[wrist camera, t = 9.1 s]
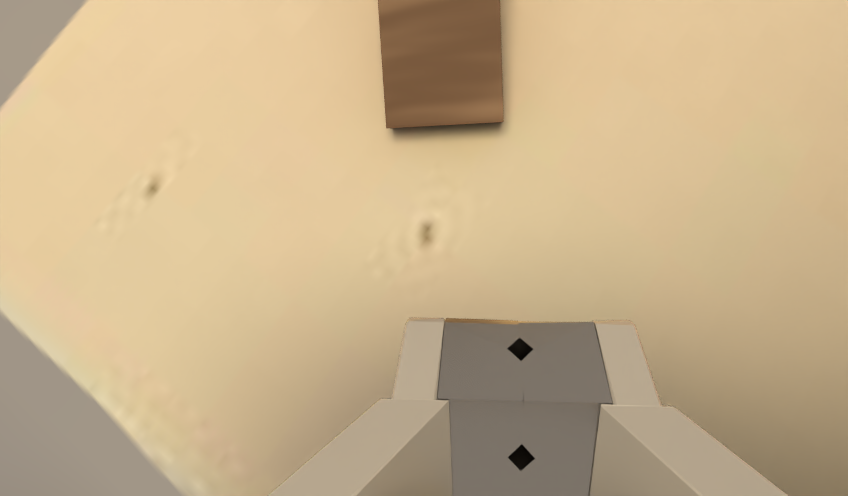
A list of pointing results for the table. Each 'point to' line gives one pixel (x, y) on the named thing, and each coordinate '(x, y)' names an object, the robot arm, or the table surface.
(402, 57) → the domino
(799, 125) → the table surface
